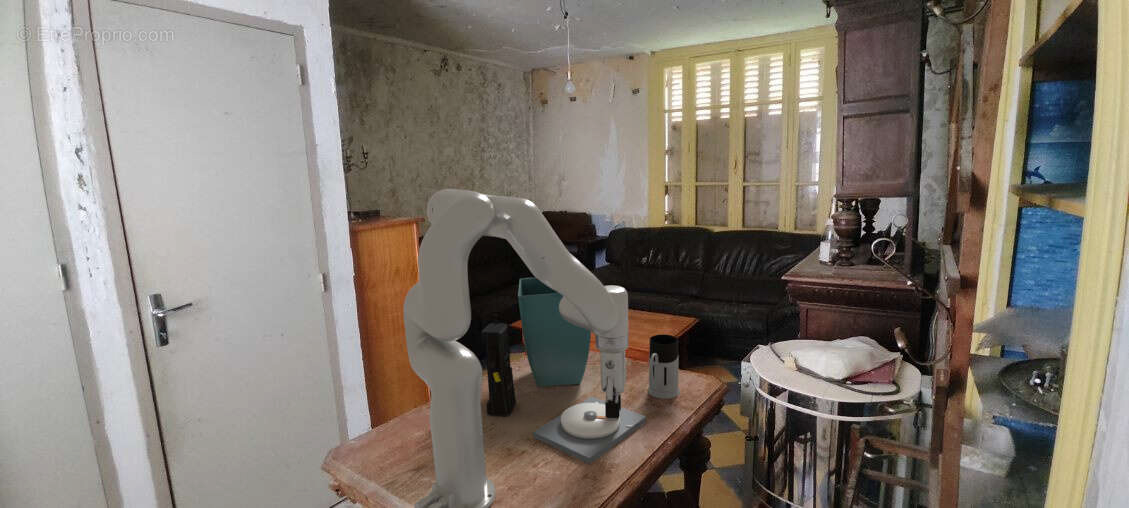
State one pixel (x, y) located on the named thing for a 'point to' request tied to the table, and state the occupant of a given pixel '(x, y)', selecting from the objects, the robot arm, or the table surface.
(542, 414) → the table surface
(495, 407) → the portable radio
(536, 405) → the table surface
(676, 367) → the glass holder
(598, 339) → the robot arm
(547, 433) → the stand
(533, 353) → the flower pot
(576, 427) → the white round dome
